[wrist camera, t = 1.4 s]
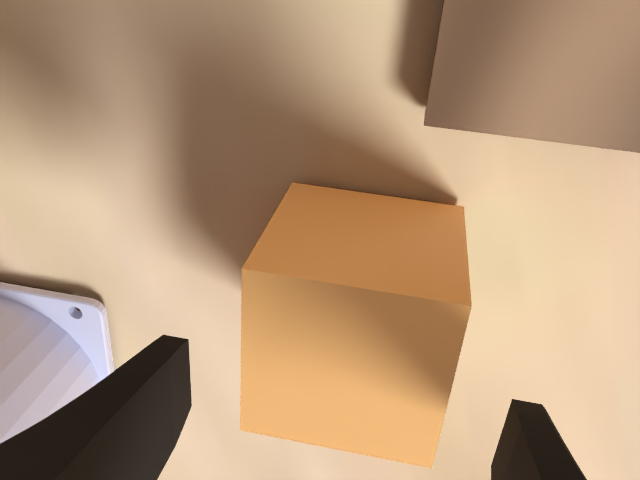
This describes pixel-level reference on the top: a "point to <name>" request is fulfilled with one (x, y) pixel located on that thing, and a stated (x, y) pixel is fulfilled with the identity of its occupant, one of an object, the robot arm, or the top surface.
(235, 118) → the top surface
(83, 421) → the robot arm
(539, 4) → the brown rectangular slab
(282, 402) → the orange cube
